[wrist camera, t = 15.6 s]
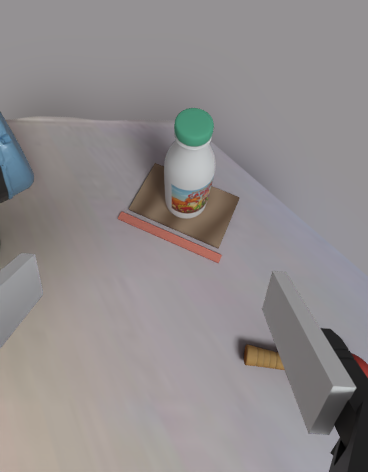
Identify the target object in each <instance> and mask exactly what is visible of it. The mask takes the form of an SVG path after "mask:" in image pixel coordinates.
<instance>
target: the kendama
mask: <svg viewBox="0 0 368 472" xmlns="http://www.w3.org/2000/svg"><path fill="white" fill-rule="evenodd" d="M351 354H352V353H351ZM352 355H353V357H354V360H356V361H357V363H358V364H359V366H360V367H361V369H362V370H363V372H364V373H365V375H366V376H367V378H368V364H367V363H366V362H365V361H364V360H363V359H361V358H360V357H358V356H356V355H355V354H352ZM244 363H245V365H249V366H258V367H266V368H273V369H274V368H275V369H280V370H285V369H284V366H283V364H282V361H281V358H280V356H279V353H278V352H274V351H270V350H266V349H262V348H259V347H255V346H252V345H248V344H247V345H246V346H245V351H244Z"/></svg>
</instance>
